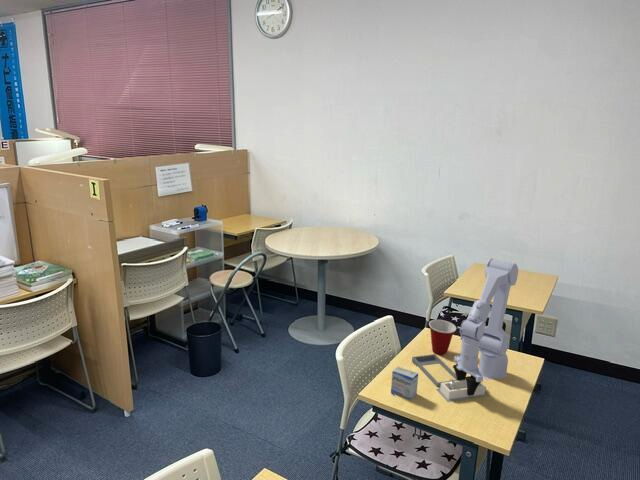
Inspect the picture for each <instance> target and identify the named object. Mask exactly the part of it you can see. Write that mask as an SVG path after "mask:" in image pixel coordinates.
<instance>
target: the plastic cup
mask: <svg viewBox="0 0 640 480" xmlns="http://www.w3.org/2000/svg"><path fill="white" fill-rule="evenodd" d="M428 326H429V330H430V338H431V339H430V340H431V341H430V342H431V348H432V349H431V350H432V352H433V354H435V355H438V356H445V355H447V353H448V350H449V347H450V344H451V342H452V338H453V335H454V333H455V332H456V331H457V326H456V325H455V324H454V323H452V322H451V321H447V320H443V319H433V320H430V321H429V322H428Z"/></svg>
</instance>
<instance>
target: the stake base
mask: <svg viewBox="0 0 640 480" xmlns="http://www.w3.org/2000/svg"><path fill="white" fill-rule="evenodd" d="M453 380H454V379H451V378H450V379H449V381H450V390H454V389H455V384H456V383H455V382H454V381H453ZM435 390H436V391H437V392H438V394H439V395H440V396H441V397H442V398H443V399H444V400H445V401H446V402H447V403H452V402H458V401H463V400H472V399H477V398H479V399H480V398H484V397H490V395H489V394H488V393H487V391H485V394H483V395H476V396H470V397H463V398H456V399H449V400H448V399H447V397H446V396H445V395H444V394H443V393H442V392H441V391H440V388H436V389H435Z"/></svg>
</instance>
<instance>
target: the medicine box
mask: <svg viewBox="0 0 640 480" xmlns="http://www.w3.org/2000/svg"><path fill="white" fill-rule="evenodd" d="M391 372H392V374H391V375H392V376H391V385H390V394H391V395H397V396H400V397H403V398H406V399H408V400H413V399H414V398H415V397H416V395H417V394H418V393H417V392H418V384H419V382H418V381H419V373H418V372H415V371H412V370H409V369H406V368H403V367H400V366H396V367H395V368H394V369H393V370H392V371H391Z"/></svg>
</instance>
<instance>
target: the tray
mask: <svg viewBox="0 0 640 480" xmlns="http://www.w3.org/2000/svg"><path fill="white" fill-rule="evenodd" d="M411 363H413V365H414V366H415V367H418V368H419V369H420V370H421V372H422V373H423V374H424V375H425V376H426V377H427V378H428V379H429V380H430V381H431V382H432V384H433V385H435V387H436V388H440V387H441V383H444V382H450V380H446V381H438V380H436V379H435V377H433V375H432V374H430V371H428V370H427V369H426V368H425V367H426V366H430V365H441V367H442V368H443V369H444V370H445V371H446V372H447V373H448V374H449V375H450V376H451V377H452V378H454V379H452V380H453V381H457V377H456V373H455V371H454V370H452V369H451V368H450V367H449V366H448V365H447V364H446V363H445V362H444V361H442V359H440V358H439V357H438V356H437V354H435V353H433V354H425V355H418V356H417V355H416V356H412V358H411ZM424 366H425V367H424Z"/></svg>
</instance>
